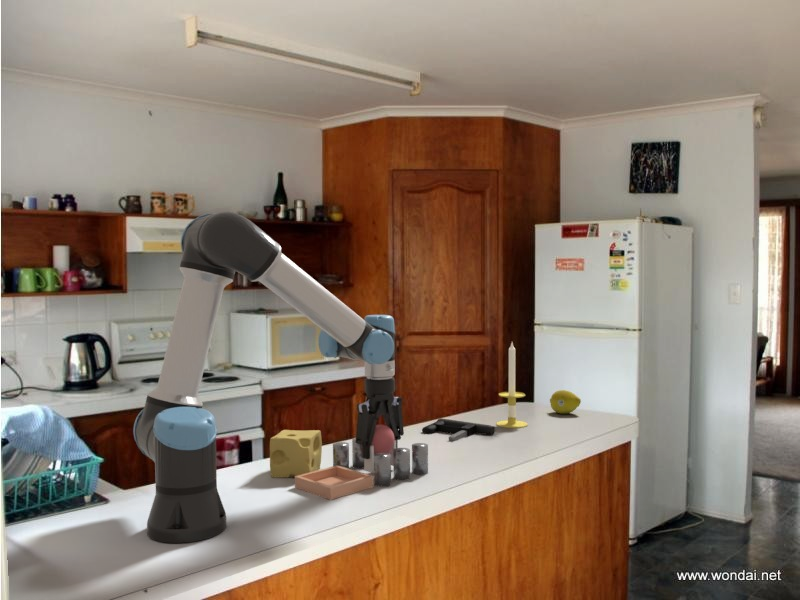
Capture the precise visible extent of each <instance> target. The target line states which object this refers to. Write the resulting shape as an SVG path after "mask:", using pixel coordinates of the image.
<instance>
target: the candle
mask: <svg viewBox="0 0 800 600" xmlns="http://www.w3.org/2000/svg"><path fill="white" fill-rule="evenodd" d="M498 396H499V397H501V398H506V399H507V419H506V420H505V419H504V420H499V421H497V422H496V423H495V425H496V426H498V427H500V428H505V429H522V428H526V427H528V423H527V422H525V421H522V420H517V402H516V401H517V398H518V399H519V398H524V397H526V394H525V393H524V392H521V391H516V348H515V347H514V343H513V342H511V343H510V346H509V348H508V391H502V392H499V393H498Z"/></svg>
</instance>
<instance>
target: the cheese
mask: <svg viewBox="0 0 800 600" xmlns="http://www.w3.org/2000/svg"><path fill="white" fill-rule="evenodd" d="M322 442H323V441H322V431H321V430H319V429H317V430H315V429H313V430H312V429H311V430H310V429H309V430H294V429H292V430H291V429H283V430H281V431H280V432H279V433H277V434H276V435H273V436H272V437H270V439H269V469H270V470H269V471H270V477H271V478H285V479H286V478H287V479H288V478H295V476H298V475H302V474H306V473H310V472H313V471H317V470H321V463H322V454H323V453H322V452H323V451H322V449H323V448H322V447H323V443H322Z"/></svg>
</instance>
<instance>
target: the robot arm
mask: <svg viewBox="0 0 800 600" xmlns="http://www.w3.org/2000/svg"><path fill="white" fill-rule="evenodd" d="M180 249H181V252H182V256H181V260H180V265H179V271H180V272H181V274H182V275H183V276H182V277H183V281H182V282H183V283H182V286H181V290H180V293H179V299H178V302H177V306H176V310H175V314H174V318H173V322H172V326H171V330H170V333H169V338H168V343H167V346H166V349H165V354H164V358H163V361H162V362H163V363H162V366H161V370H160V374H159V377H158V382H157V386H156V387H155V388H153V389H152V390H150V391H149V392H147V396H146V399H145V403H144V407H143V408H142V410H140V412H139V413H138V415H137V416H136V418H135V421H134V423H133V438H134V441H135V442H136V443H135V444H136V445H137V447H138V450H140V451H141V453H142V454H143V455H145V456H146V458H149V459H151V460H152V462H154V470H155V472H154V474H155V475H154V477H155V478H154V480H155V495H154V498H153V502H152V504H151V507H150V508H151V509H150V511H149V514H148V517H147V518H148V519H147V522H146V533H147V536H148V538H150V539H151V540H154V541H156V542H160V543H169V544H182V543H193V542H197V541H198V542H199V541H202V540H207V539H210V538H212V537H216V536H217V535H219V534H221V533H222V532H223V531H225V529H226V528H227V514H226V513H227V512H226V510H225V507H224V505H223V502H222V500H221V496H220V493H219V491H218V485H217V483H218V482H217V476H218V475H217V433H218V431H217V427H216V419H215V417H214V414H213V413H212V412H210V411H209V410H208V409H205V408H203V405H204V403H203V402H202V400H201V399H200V397H199V391H200V387H201V383H202V379H203V375H204V371H205V366H206V363H207V358H208V355H209V354H208V353H209V351H210V346H211V342H212V338H213V334H214V330H215V325H216V322H217V318H218V313H219V310H220V305H221V302H222V297H223V293H224V289H225V288H226V287H227V286H229V284H231V283H233V282H234V279H235V274H236V272H237V273H239V274H240V275H242V276H244V277H245V278H246V279H247V280H249V281H250V282H251V283H252V282H260V283H261V285H264V286H265V288H267V289H268V290H270V291H271V292H272V293H273V294H275V295H277V297H279V298H281V300H283V301H284V302H285V303H287V304H288V305H289V306H291V307H292V308H293V309H294V310H296V311H297V312H299V313H300V314H301V315H302V316H304V317H305V318H306V319H308V320H309V321H310V322H311V323H313V324H314V325H315V326H317V327H318V328H319V329H320V331H319V333H318V334H319V335H318V340H317V341H318V348H319V352H320V354H321V355H322V356H323V357H325V358H334V359H336V358H346V359H351V360H356V361H360V362H364V376H365V379H364V392H365V393H366V399H365V402H362V403H359V402H358V403H357V404H356V410H357V411H356V412H357V419H356V431H355V433H356V435H355V438H356V443H357V444H361V445H362V450H363V458H364V468H363V470H364V471H365V472H368V473H374V446H372V445H371V443H372V439H373V435H374V431H375V427H376V425H377V423H378V420H379V419H380V418H381V417H380V416H382V418H383V422H384V425H386V426H388V427H389V428H390V429H391V430H392V431H393V434H394V438H395V439H394V444H393V447H392V449H391V451H390V453H389V454H391V466H393V467H394V464H393V450H394V449H395V448H399V447H398V446H399V445H398V441H400V440H401V438H402V437H401V436H404V433H405V432H404V431H405V430H404V420H403V412H402V410H403V409H402V406H403V405H402V404H403V398H402V397H399V396H395V395H394V393H395V392H396V380H395V377H394V376H395V375H396V374H395V373H396V369H395V367H396V364H395V363H396V362H395V359H396V358H395V356H396V354H395V353H396V350H395V349H396V348H395V347H396V345H395V344H396V343H395V342H396V339H395V338H396V330H395V329H396V328H395V326H396V325H395V319H394V317H393V316H391V315H389V314H368V315H365V316H364V319H363V318H362V317H361V316H360V315H358V314H357V313H356V312H355V311H354V310H353V309H351V308H350V307H349V306H348V305H346V304H345V303H344V302H343V301H341V299H339V298H338V297H337V296H335V294H333V293H331V292H330V291H329V290H328V289H326V288H325V287H324V286H323V285H322V284H321V283H319V281H317V280H316V279H314V278H313V276H311V275H310V274H308V273H307V272H306V271H305V270H303V269H302V268H301V267H299V265H297V264H296V263H295V262H294V261H292V260H291V259H290V258H289V257H287V256H286V255H285V254H284V253H282V247H281V245H280V243H278V242H277V241H275V240H274V239H273V237H271V236H270V235H269V234H267V233H266V232H265V231H264V230H262V228H260V227H259V226H257V225H256V224H255V223H254V222H252V220H250V219H248V218H247V217H245V216H244V215H242V214H238V213H237V212H232V211H221V212H217V213H206V214H201V215H199V216H198V217H196V218H194V219H193V220H191V221H190V222H189V223H188V224H187V225H186V226H185V228H184V229H183V231H182V234H181V236H180ZM366 440H367V441H366Z"/></svg>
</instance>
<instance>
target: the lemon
mask: <svg viewBox="0 0 800 600" xmlns="http://www.w3.org/2000/svg"><path fill="white" fill-rule="evenodd" d="M581 402H582V400H581V398H580V397H578V395H576V394H575V393H573V392H571V391H570V390H566V389H565V390H557V391H555V392H553V393H552V395H551V397H550V399H549V403H550V407H551V409H552V411H554V412H555V413H558V414H561V415H566V414H570V413H573V412H574V411H575V410H577V408H578V407H579V406H580V404H581Z"/></svg>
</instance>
